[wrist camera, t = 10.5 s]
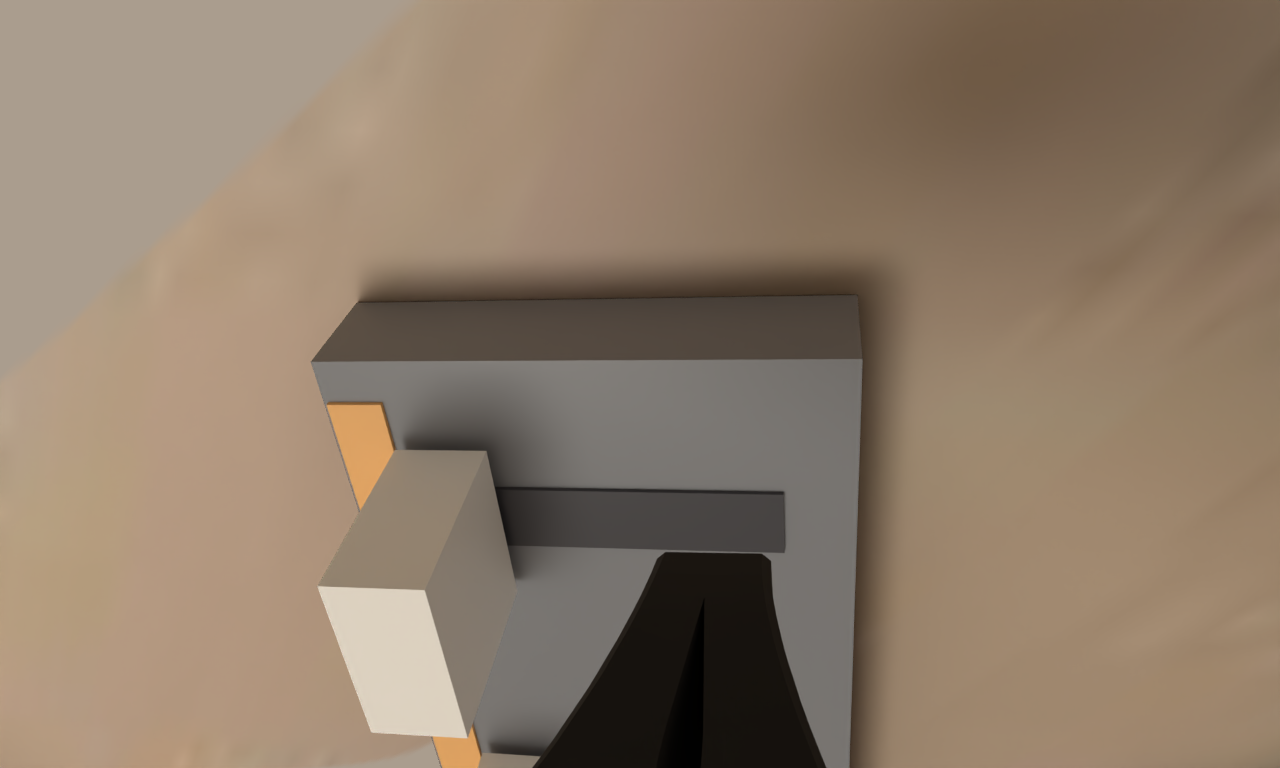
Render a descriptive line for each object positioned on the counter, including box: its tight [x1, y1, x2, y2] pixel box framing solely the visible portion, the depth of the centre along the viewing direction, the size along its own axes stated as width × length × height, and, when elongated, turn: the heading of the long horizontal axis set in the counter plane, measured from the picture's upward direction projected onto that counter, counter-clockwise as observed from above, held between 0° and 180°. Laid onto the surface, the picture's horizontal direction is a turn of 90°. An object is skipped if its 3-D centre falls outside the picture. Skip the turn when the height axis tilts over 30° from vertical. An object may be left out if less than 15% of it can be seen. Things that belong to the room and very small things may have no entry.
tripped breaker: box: [317, 450, 517, 738], centre depth 20 cm, size 2×4×4 cm, turn 5°
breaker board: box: [311, 295, 863, 768], centre depth 28 cm, size 11×28×3 cm, turn 5°
